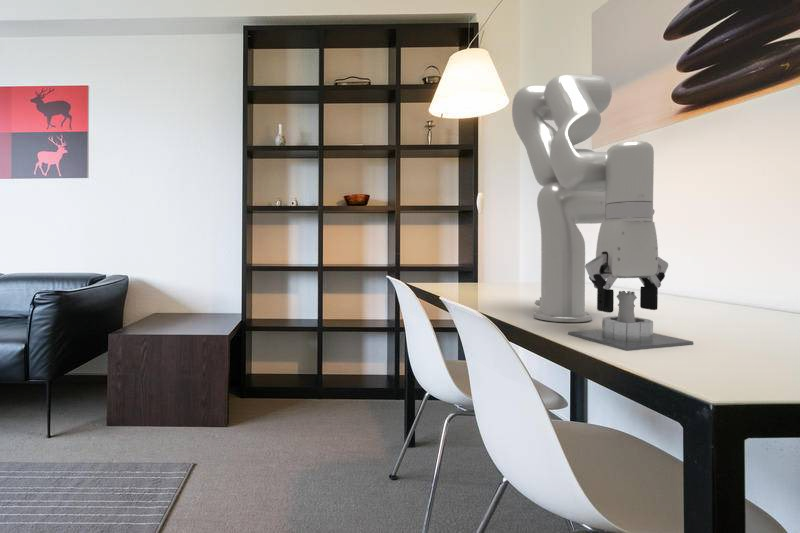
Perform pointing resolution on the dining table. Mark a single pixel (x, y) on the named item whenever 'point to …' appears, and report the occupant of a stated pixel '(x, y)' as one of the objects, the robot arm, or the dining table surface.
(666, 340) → the socket
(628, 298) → the rook chess piece
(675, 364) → the dining table surface
